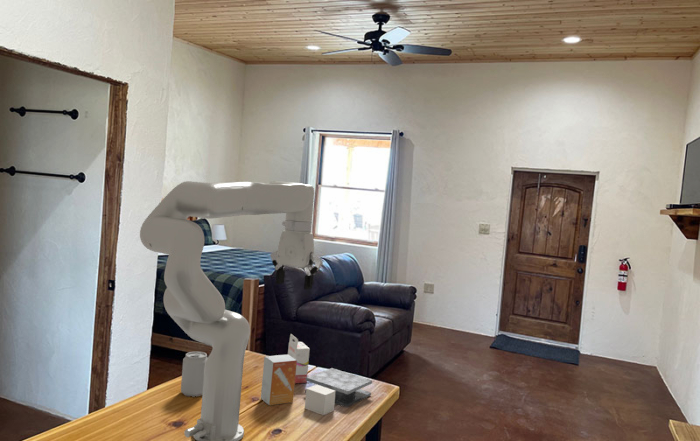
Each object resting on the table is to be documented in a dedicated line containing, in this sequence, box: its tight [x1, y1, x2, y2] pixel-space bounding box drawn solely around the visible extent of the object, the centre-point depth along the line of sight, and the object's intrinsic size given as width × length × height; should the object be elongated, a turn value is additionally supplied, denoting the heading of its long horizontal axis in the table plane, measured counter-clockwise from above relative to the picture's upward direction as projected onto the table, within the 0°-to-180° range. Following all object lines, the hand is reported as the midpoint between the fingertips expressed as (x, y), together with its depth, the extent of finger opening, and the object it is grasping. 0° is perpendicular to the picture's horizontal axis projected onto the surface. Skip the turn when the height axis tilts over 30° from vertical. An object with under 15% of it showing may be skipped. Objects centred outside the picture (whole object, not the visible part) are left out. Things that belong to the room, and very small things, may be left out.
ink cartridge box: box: [287, 333, 311, 384], centre depth 185 cm, size 9×5×15 cm, turn 25°
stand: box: [304, 367, 373, 408], centre depth 174 cm, size 14×16×5 cm
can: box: [180, 351, 208, 398], centre depth 164 cm, size 8×8×12 cm
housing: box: [304, 384, 336, 416], centre depth 161 cm, size 5×7×6 cm
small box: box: [260, 353, 297, 406], centre depth 164 cm, size 8×6×13 cm
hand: (293, 286), depth 157 cm, fingers open, 9 cm apart
